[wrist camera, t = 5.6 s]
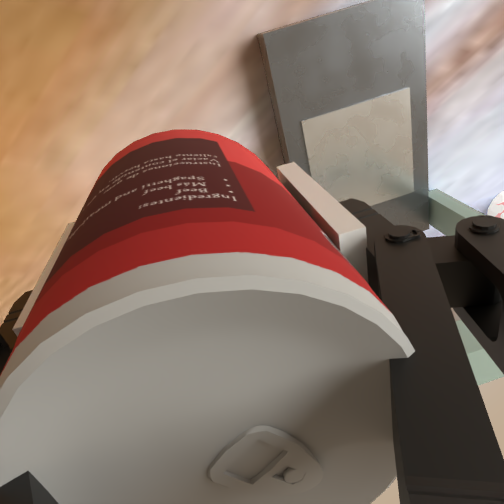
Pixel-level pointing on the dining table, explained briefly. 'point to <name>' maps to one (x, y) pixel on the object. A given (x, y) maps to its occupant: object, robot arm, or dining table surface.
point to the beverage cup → (497, 206)
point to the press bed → (356, 104)
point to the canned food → (201, 345)
